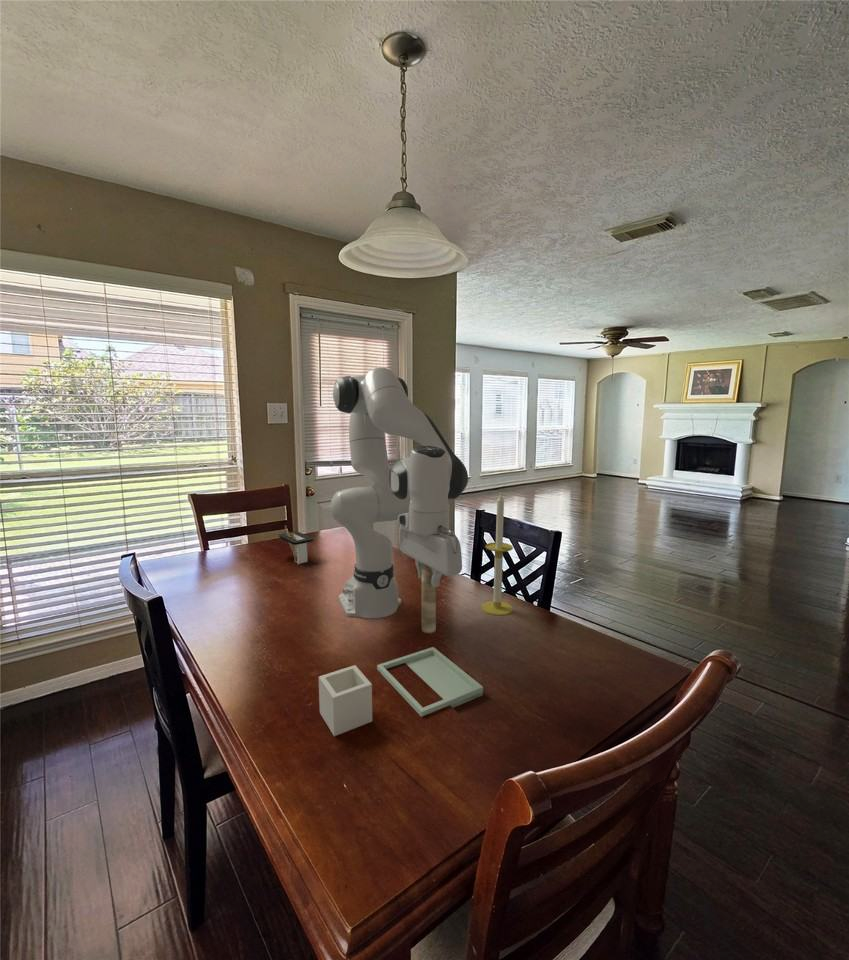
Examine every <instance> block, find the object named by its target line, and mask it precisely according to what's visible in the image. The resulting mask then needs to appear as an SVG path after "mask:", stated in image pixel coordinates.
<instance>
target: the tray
mask: <svg viewBox="0 0 849 960" xmlns="http://www.w3.org/2000/svg"><path fill="white" fill-rule="evenodd" d="M402 664H406V665H407V666H408V667H409V668H410V669H411V670H412V671H413V672H414V673H415V674H416V675H417V676H418V677H419V678H420V679H421V680H423V682H424V683H426V684H427V685H428V686H429V687H430V688H431V689H432V690H433V691H434V692H435V693H436V694H437V695H438V696H439V697H440V698H442V699H441V700H438V701H436V702H433V703H432V704H429V705H426V706H424V707H423V706H422V704H420V703H419V702H418V701H417V700H416V699H415V698H414V697H413V696H412V695H411V693H409V691H408V690H406V688H405V687H404V686H403V685H402V684H401V683H400V682H399V681H398V680H397V679H396V678H395V677H394V676H393V674H391V673H390V672H389V671H388V670H387V669H390V668H393V667H396V666H399V665H402ZM376 670H377V671H378V672H379V673H380V674H381V676H383V677H384V678H385V679H386V681H388V683H389V684H390V685H392V687H393V689H395V690H396V691H397V692H398V694H400V696H401V697H402V698H403V699H404V700H405V701H406V702H407V703H408V704H409V706H410V707H412V708H413V710H414V711H416V713H417V714H418V715H419V716H420V717H421V718H422V717H425V716H426V715H429V714H432V713H434V712H437V711H439V710H441V709H443V708H447V707H451V709H453V708H457V707H458V706H460V705H463V704H465V703H467V702H470V701H472V700H475V699H478V698H479V697H483V696H484V687H483V685H481V684H480V683H479V682H478V681H477V680H475V679H474V678H472V677H471V676H470V675H469V674H467V673H466V672H465V671H464V670H463V669H462V668H461V667H459V666H458V665H457V664H455V663H454V662H453V661H451V660H450V659H449V658H448V657H446V656H445V655H444V654H442V652H440V651H439V650H437V648H435V646H432V647H429V648H426V649H423V650H420V651H417V652H414V653H409V654H407V655H404V656H402V657H401V656H400V657H398V658H395V659H392V660H389V661H386V662H383V663H379V664H377V665H376Z"/></svg>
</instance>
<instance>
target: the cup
mask: <svg viewBox="0 0 849 960" xmlns="http://www.w3.org/2000/svg"><path fill="white" fill-rule="evenodd" d="M318 694H319V695H318V700H319V702H318V703H319V714H320V716H321V717H322V719H323V720H324V722H325V724H326V725H327V727H328V728H329V730H330V732H331V733H332V736H333V737H336V736H338V735H341V734H344V733H346V732H349V731H351V730H354V729H357V728H358V727H362V726H364V725H366V724H369V723H372V722H373V684H372V682H371V681H370V680H369V679H368V678H367V677H366V676H365V675H364V674H363V672H362V671H361V670H360V669H359V667H357V665H355V664H354V665H350V666H347V667H345V668H341V669H338V670H335V671H333V672H332V671H331V672H329V673H326V674H323V675H320V676H318Z"/></svg>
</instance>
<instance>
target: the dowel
mask: <svg viewBox="0 0 849 960" xmlns="http://www.w3.org/2000/svg"><path fill="white" fill-rule="evenodd" d="M432 575H433V572H432V568H431V567H426V568H423V569H422V580H421V632H423V633H426V634H432V633H435V632H436V631H437V630H436V628H437V625H436V624H437V619H436V618H437V587H432V586H431V585H430V584H429V582H430V581H429V578H431V577H432Z"/></svg>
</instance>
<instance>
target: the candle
mask: <svg viewBox="0 0 849 960" xmlns="http://www.w3.org/2000/svg"><path fill="white" fill-rule="evenodd" d="M504 509H505V500H504V498H503V495H502V493H499V497H498V498H497V500H496V522H495V523H496V525H495V527H496V528H495V542H489V543H486V544H485V546H484V547H485V549H487V550H488V551H491V552H494V568H493V569H494V573H493V599H492V600H490V601H489V600H488V601H486V602H484V603H482V604H481V607H480V608H481V610H482V611H483V612H485V614H488V615H492V616H507V615H510V614H512V613H513V611H514V607H513V606H512V605H511V604H509V603H507V602H504V601H502V594H503V593H502V589H503V565H504V564H503V563H504V562H503V559H504V552H510V551H512V550H513V549H514V546H513V545H511V544H509V543H506V542H504V541H503V539H504V538H503V537H504V515H505V514H504V513H505V511H504Z"/></svg>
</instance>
